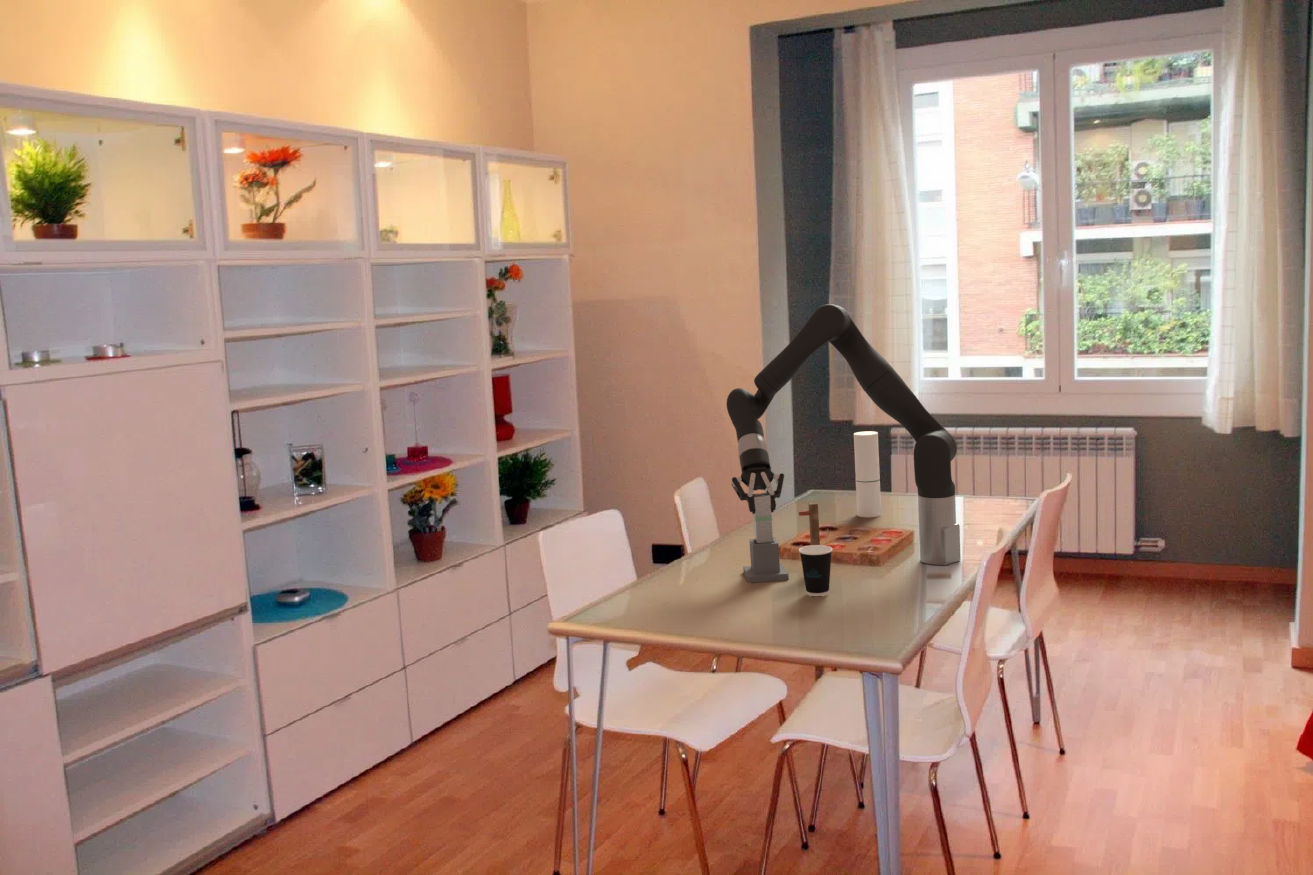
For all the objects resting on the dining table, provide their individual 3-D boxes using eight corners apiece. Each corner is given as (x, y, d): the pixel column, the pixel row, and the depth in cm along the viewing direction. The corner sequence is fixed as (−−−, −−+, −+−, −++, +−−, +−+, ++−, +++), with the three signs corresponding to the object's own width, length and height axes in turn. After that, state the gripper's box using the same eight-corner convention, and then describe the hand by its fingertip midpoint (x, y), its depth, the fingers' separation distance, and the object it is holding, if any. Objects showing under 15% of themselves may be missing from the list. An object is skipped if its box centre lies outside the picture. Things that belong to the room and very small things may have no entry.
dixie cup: (826, 587, 277) (824, 543, 275) (840, 596, 269) (837, 550, 268) (796, 591, 275) (793, 547, 273) (808, 600, 268) (806, 555, 266)
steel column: (771, 546, 292) (768, 492, 289) (773, 550, 287) (770, 495, 285) (754, 547, 291) (751, 493, 289) (757, 551, 287) (754, 497, 285)
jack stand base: (782, 568, 296) (780, 534, 294) (788, 579, 286) (786, 544, 284) (743, 572, 295) (741, 538, 294) (748, 582, 285) (746, 547, 284)
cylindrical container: (879, 511, 351) (876, 430, 347) (882, 516, 344) (878, 434, 340) (856, 512, 352) (852, 432, 348) (858, 517, 345) (854, 435, 341)
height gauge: (822, 568, 293) (819, 501, 290) (825, 573, 289) (822, 504, 286) (800, 570, 293) (797, 502, 290) (803, 574, 289) (800, 506, 286)
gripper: (726, 449, 293) (735, 505, 283) (782, 444, 293) (792, 500, 283) (725, 465, 299) (734, 521, 289) (779, 461, 299) (790, 517, 289)
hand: (763, 511), depth 286 cm, fingers closed on steel column, 4 cm apart
